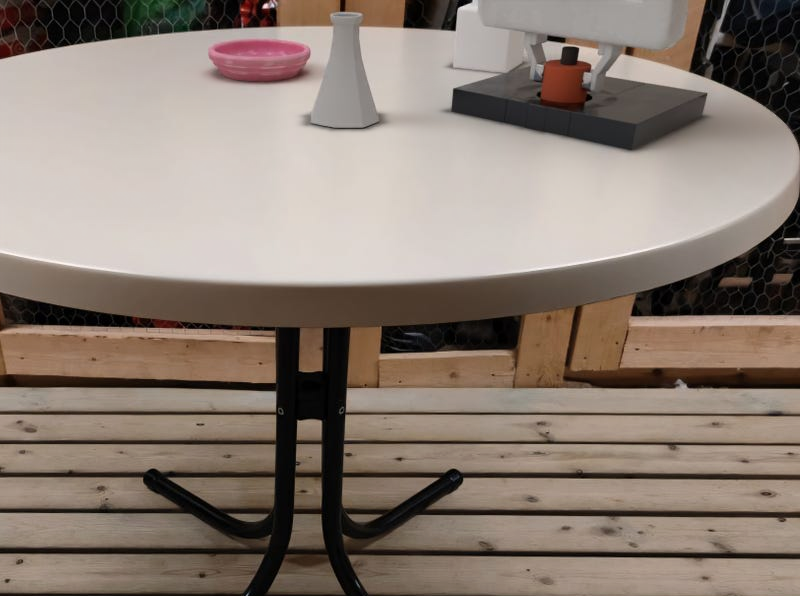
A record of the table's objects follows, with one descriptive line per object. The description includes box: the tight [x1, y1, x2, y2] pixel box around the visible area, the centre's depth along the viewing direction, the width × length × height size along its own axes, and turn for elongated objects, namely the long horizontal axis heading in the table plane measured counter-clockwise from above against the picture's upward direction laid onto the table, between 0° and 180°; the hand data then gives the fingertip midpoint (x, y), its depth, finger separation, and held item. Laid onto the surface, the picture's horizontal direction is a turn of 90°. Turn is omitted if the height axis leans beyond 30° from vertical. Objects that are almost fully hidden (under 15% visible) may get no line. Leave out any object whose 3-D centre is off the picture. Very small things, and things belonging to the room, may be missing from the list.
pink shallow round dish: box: [207, 38, 311, 82], centre depth 102 cm, size 12×12×3 cm
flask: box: [310, 11, 380, 129], centre depth 82 cm, size 7×7×10 cm
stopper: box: [540, 45, 593, 103], centre depth 82 cm, size 4×4×6 cm
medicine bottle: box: [452, 0, 525, 74], centre depth 103 cm, size 7×7×12 cm
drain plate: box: [450, 65, 708, 151], centre depth 86 cm, size 20×16×2 cm
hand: (564, 86), depth 83 cm, fingers closed on stopper, 4 cm apart
